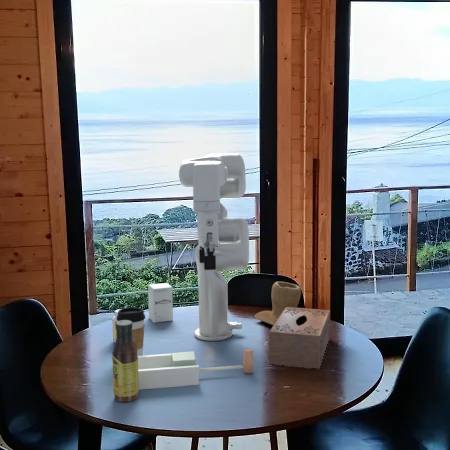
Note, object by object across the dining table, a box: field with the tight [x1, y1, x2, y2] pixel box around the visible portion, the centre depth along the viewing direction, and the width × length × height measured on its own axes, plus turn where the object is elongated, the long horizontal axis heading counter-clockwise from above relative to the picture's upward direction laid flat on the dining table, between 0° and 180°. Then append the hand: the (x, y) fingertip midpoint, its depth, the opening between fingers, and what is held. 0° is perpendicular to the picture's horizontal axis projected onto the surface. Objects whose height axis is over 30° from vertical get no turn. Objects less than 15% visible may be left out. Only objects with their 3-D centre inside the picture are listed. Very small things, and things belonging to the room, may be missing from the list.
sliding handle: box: [170, 348, 254, 374], centre depth 157 cm, size 22×6×6 cm, turn 100°
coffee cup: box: [117, 307, 146, 356], centre depth 169 cm, size 8×8×15 cm
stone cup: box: [254, 281, 302, 326], centre depth 201 cm, size 15×12×15 cm
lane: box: [138, 351, 200, 391], centre depth 155 cm, size 18×11×6 cm, turn 100°
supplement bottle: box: [112, 308, 122, 344], centre depth 185 cm, size 6×6×10 cm
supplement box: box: [147, 282, 174, 324], centre depth 208 cm, size 7×7×13 cm
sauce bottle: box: [111, 320, 140, 403], centre depth 143 cm, size 6×6×20 cm
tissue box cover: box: [268, 307, 331, 369], centre depth 175 cm, size 26×14×10 cm, turn 164°
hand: (207, 266), depth 164 cm, fingers open, 9 cm apart
